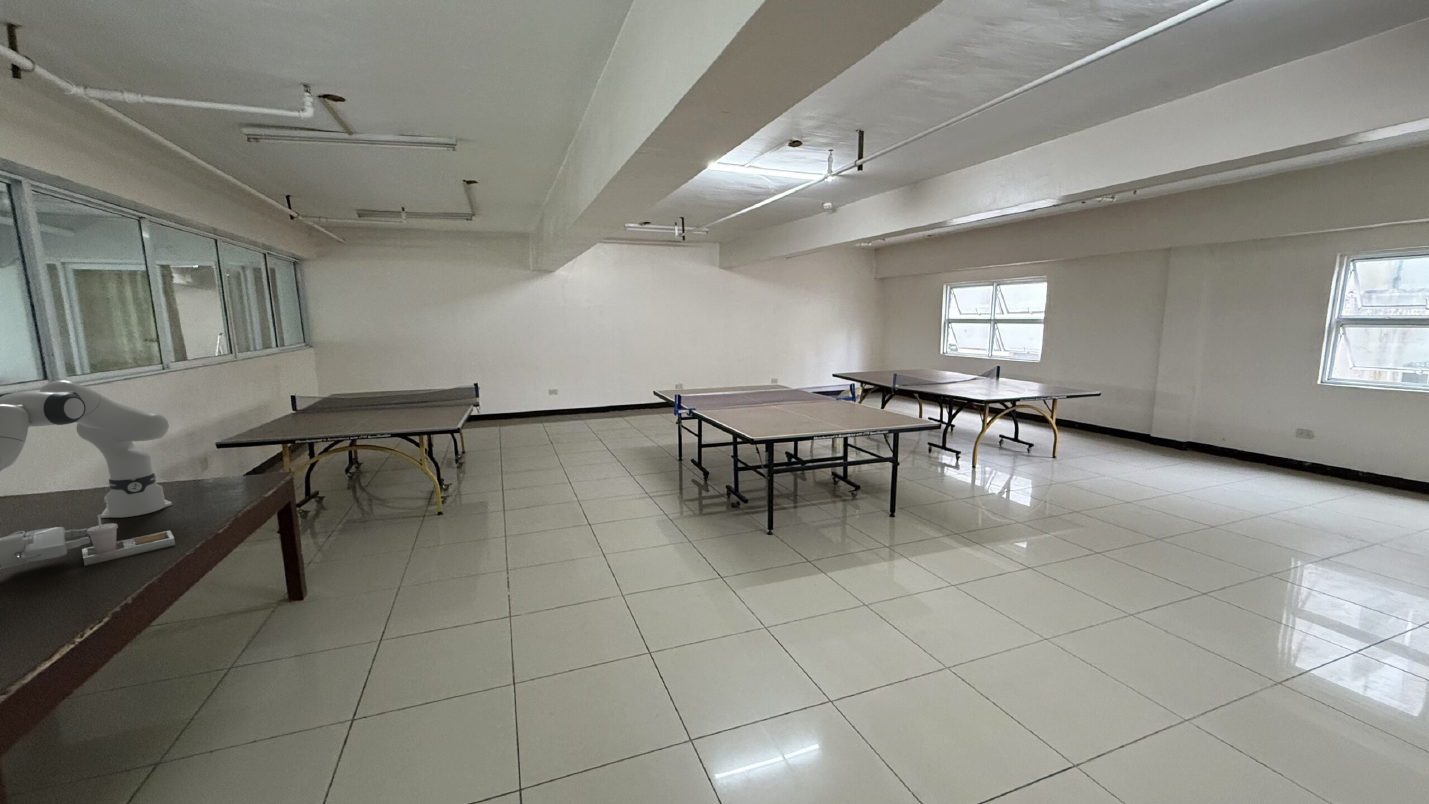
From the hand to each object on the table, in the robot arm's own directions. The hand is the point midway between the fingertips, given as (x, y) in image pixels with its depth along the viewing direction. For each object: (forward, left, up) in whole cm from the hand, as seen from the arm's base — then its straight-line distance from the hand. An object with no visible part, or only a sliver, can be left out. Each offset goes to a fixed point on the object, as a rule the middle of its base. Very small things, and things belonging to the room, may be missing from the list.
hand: (89, 535), depth 164 cm
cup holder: (0, +8, -8) cm, 11 cm away
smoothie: (0, +3, -8) cm, 9 cm away
